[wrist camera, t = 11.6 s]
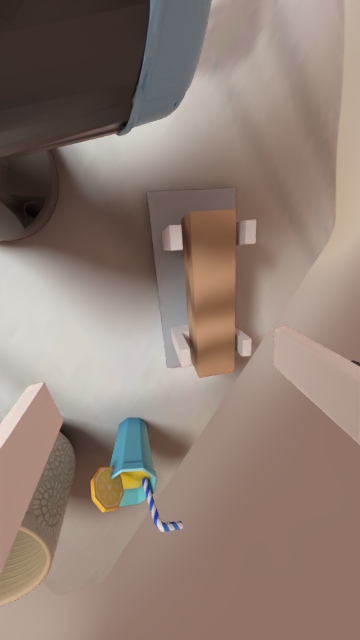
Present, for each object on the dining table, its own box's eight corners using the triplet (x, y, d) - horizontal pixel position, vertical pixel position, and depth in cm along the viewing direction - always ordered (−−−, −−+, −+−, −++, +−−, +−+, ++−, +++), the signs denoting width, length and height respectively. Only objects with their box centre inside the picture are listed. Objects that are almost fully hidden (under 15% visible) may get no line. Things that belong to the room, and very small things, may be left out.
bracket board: (147, 193, 28) (150, 169, 19) (232, 190, 29) (270, 165, 21) (166, 364, 36) (174, 399, 28) (231, 353, 38) (258, 383, 30)
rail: (180, 218, 26) (190, 211, 21) (219, 216, 27) (236, 209, 22) (190, 359, 33) (199, 377, 28) (221, 354, 33) (234, 371, 29)
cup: (178, 424, 41) (198, 515, 27) (158, 453, 43) (168, 552, 29) (111, 402, 37) (94, 496, 23) (92, 434, 38) (65, 541, 24)
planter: (59, 489, 41) (17, 618, 27) (-40, 468, 36) (-161, 616, 21) (100, 426, 38) (77, 532, 24) (-2, 392, 33) (-112, 504, 18)
